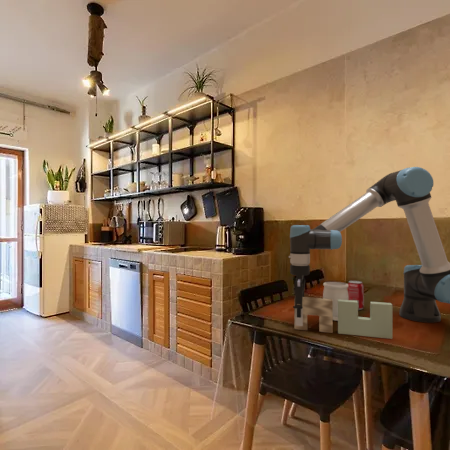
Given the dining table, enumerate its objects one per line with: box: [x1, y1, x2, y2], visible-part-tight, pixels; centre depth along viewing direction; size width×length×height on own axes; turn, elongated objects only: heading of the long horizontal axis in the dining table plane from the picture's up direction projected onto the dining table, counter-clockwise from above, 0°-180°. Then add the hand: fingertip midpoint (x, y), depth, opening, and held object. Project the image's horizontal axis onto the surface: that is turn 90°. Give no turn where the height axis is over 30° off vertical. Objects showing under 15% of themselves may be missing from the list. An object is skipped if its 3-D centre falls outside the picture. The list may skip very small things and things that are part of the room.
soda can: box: [347, 280, 365, 311], centre depth 146 cm, size 7×7×13 cm
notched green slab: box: [337, 299, 393, 340], centre depth 111 cm, size 18×3×12 cm, turn 72°
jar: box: [322, 281, 349, 322], centre depth 131 cm, size 11×10×15 cm
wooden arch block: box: [293, 296, 334, 334], centre depth 116 cm, size 14×3×12 cm, turn 72°
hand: (299, 321), depth 118 cm, fingers open, 10 cm apart
